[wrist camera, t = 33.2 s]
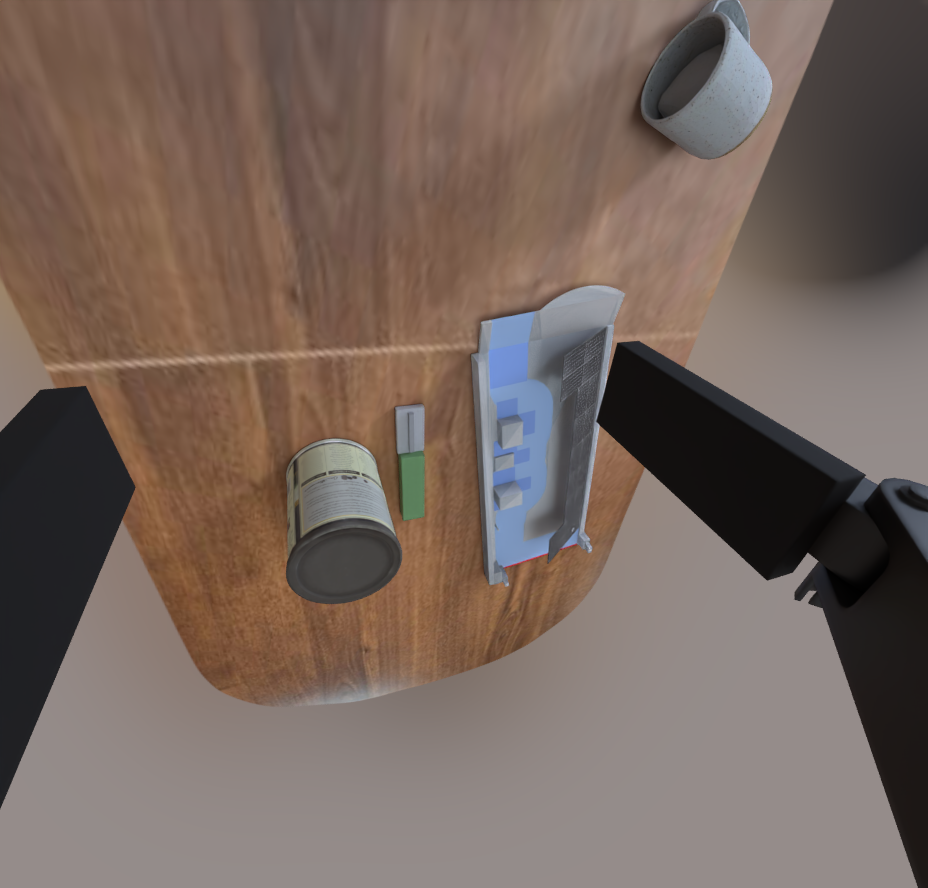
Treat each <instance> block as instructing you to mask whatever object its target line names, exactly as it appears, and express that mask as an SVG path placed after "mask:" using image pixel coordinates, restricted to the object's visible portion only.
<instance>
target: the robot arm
mask: <svg viewBox="0 0 928 888" xmlns="http://www.w3.org/2000/svg"><path fill="white" fill-rule="evenodd" d="M596 422H597V423H598V424H599V425H600V426H601V427H602V428H603V429H604V430H606V431H607V432H608V433H609V434H610V435H611V436H612V437H613V438H614V439H615V440H616V441H617V442H618V443H620V444H621V445H622V446H623V447H624V448H625V449H626V450H627V451H628V452H629V453H630V454H631V455H632V456H634V457H635V458H636V459H637V460H638V461H639V462H640V463H641V464H642V465H643V466H644V467H645V468H647V469H648V470H649V471H650V472H651V473H652V474H653V475H654V476H655V477H656V478H657V479H658V480H659V481H660V482H661V483H663V484H664V485H665V486H666V487H667V488H668V489H669V490H670V491H671V492H672V493H673V494H675V496H677V497H678V498H679V499H680V500H681V501H682V502H683V503H684V504H685V505H686V506H687V507H688V508H689V509H691V510H692V511H693V512H694V513H695V514H696V515H697V516H698V517H699V518H700V519H701V520H703V522H704V523H706V524H707V525H708V526H709V527H710V528H711V529H712V530H713V531H714V532H715V533H717V535H718V536H720V537H721V538H722V539H723V540H724V541H725V542H726V543H727V544H728V545H729V546H730V547H731V548H733V549H734V550H735V551H736V552H737V553H738V554H739V555H740V556H741V557H742V558H743V559H744V560H745V561H746V562H748V563H749V564H750V565H751V566H752V567H753V568H754V569H755V570H756V571H757V572H758V573H759V574H761V575H762V576H763V577H764V578H765V579H766V580H770V579H774V578H777V577H780V576H783V575H787V574H790V573H793V571H794V570H795V569H796V568H797V566H798V565H799V564H800V562H801V561H802V560H803V558H804V557H805V555H806V554H807V553H809V554H810V555H812V556H813V557H814V558H815V559H817V560H818V561H819V562H818V563H817V564H816V566H815V567H814V568H813V569H812V571H811V572H810V573H809V574H808V576H807V577H806V578H805V579H804V581H803V582H802V583H801V585H800V586H799V587H798V588H797V590H796V591H795V600H798V601H801V600H802V599H803V597H804V596H805V595H806V593H807V592H808V591H810V590H811V591H816V593H815V594H814V595H813V597H812V598H811V599H810V601H809V602H808V603H809V604H811V605H814V606H817V607H820V608H823V611H824V613H825V617H826V619H827V622H828V625H829V628H830V631H831V634H832V637H833V640H834V643H835V646H836V649H837V652H838V654H839V658H840V660H841V663H842V666H843V669H844V672H845V675H846V678H847V680H848V683H849V687H850V690H851V692H852V696H853V699H854V701H855V704H856V707H857V710H858V713H859V716H860V719H861V722H862V725H863V728H864V731H865V734H866V737H867V739H868V742H869V745H870V748H871V751H872V754H873V757H874V760H875V763H876V766H877V769H878V772H879V775H880V777H881V781H882V783H883V786H884V789H885V792H886V795H887V798H888V801H889V804H890V807H891V810H892V813H893V816H894V819H895V822H896V825H897V827H898V830H899V833H900V836H901V839H902V842H903V845H904V848H905V851H906V854H907V857H908V860H909V862H910V866H911V868H912V871H913V874H914V877H915V880H916V883H917V886H918V888H928V486H925V485H922V484H919V483H916V482H913V481H910V480H904V479H897V478H890V479H884V480H883V481H882V482H881V483H880V484H879V485H877V484H875V483H873V482H872V481H870V480H868V479H867V478H865V476H866V475H865V474H864V473H862V472H860V471H858V470H857V469H855V468H853V467H852V466H850V465H848V464H847V463H845V462H843V461H842V460H840V459H838V458H836V457H835V456H833V455H831V454H830V453H828V452H826V451H825V450H823V449H821V448H820V447H818V446H816V445H814V444H813V443H811V442H809V441H808V440H806V439H804V438H803V437H801V436H799V435H797V434H796V433H794V432H792V431H791V430H789V429H787V428H786V427H784V426H782V425H780V424H779V423H777V422H775V421H774V420H772V419H770V418H769V417H767V416H765V415H764V414H762V413H760V412H758V411H757V410H755V409H753V408H752V407H750V406H748V405H747V404H745V403H743V402H741V401H740V400H738V399H736V398H735V397H733V396H731V395H730V394H728V393H726V392H724V391H723V390H721V389H719V388H718V387H716V386H714V385H713V384H711V383H709V382H708V381H706V380H704V379H702V378H701V377H699V376H697V375H695V374H694V373H692V372H691V371H689V370H687V369H685V368H684V367H682V366H680V365H679V364H677V363H675V362H674V361H672V360H670V359H669V358H667V357H665V356H663V355H662V354H660V353H658V352H657V351H655V350H653V349H652V348H650V347H648V346H646V345H645V344H643V343H641V342H640V341H633V342H621V343H617V346H616V350H615V354H614V358H613V361H612V365H611V369H610V372H609V376H608V380H607V383H606V387H605V391H604V394H603V398H602V402H601V406H600V409H599V413H598V417H597V420H596ZM135 488H136V487H135V485H134V483H133V481H132V479H131V477H130V475H129V473H128V471H127V469H126V467H125V465H124V463H123V461H122V459H121V457H120V455H119V453H118V451H117V449H116V446H115V444H114V442H113V440H112V438H111V436H110V434H109V432H108V430H107V428H106V426H105V424H104V422H103V420H102V418H101V416H100V414H99V412H98V410H97V408H96V406H95V404H94V402H93V400H92V398H91V396H90V393H89V391H88V389H87V387H86V386H81V387H69V388H57V389H44V390H40V391H39V392H38V393H37V394H36V395H35V396H34V397H33V398H32V399H31V400H30V401H29V403H28V404H27V405H26V406H25V407H24V408H23V409H22V410H21V411H20V412H19V413H18V414H17V415H16V416H15V417H14V418H13V419H12V420H11V421H10V422H9V423H8V425H7V426H6V427H5V428H4V429H3V430H2V431H1V432H0V808H1V806H2V803H3V801H4V799H5V796H6V794H7V792H8V789H9V787H10V784H11V782H12V780H13V777H14V775H15V773H16V770H17V768H18V765H19V763H20V761H21V758H22V756H23V754H24V751H25V749H26V746H27V744H28V742H29V739H30V737H31V735H32V732H33V730H34V727H35V725H36V722H37V720H38V718H39V715H40V713H41V711H42V708H43V706H44V704H45V701H46V699H47V697H48V694H49V692H50V689H51V687H52V685H53V682H54V680H55V678H56V675H57V673H58V670H59V668H60V665H61V663H62V661H63V658H64V656H65V654H66V651H67V649H68V647H69V644H70V642H71V639H72V637H73V635H74V632H75V630H76V628H77V625H78V623H79V621H80V618H81V616H82V613H83V611H84V609H85V606H86V604H87V602H88V599H89V597H90V594H91V592H92V590H93V587H94V585H95V583H96V580H97V578H98V575H99V573H100V571H101V568H102V566H103V563H104V561H105V559H106V556H107V554H108V552H109V549H110V546H111V544H112V542H113V540H114V537H115V535H116V533H117V530H118V528H119V525H120V523H121V521H122V518H123V516H124V514H125V511H126V509H127V507H128V504H129V502H130V499H131V497H132V495H133V492H134V490H135Z"/></svg>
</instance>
